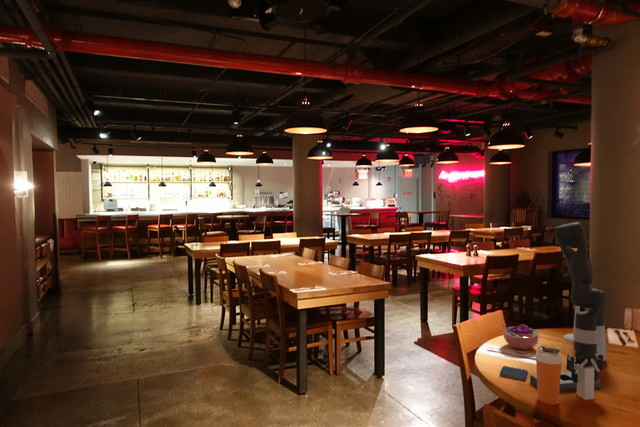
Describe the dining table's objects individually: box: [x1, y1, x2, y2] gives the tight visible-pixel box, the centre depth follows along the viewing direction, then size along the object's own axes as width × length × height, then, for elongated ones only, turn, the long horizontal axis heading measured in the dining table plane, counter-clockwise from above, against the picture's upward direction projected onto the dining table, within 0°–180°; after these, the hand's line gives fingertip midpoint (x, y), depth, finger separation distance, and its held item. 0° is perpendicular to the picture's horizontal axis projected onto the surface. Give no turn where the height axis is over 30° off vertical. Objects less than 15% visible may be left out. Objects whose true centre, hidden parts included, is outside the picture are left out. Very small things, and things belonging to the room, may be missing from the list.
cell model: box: [502, 323, 539, 350], centre depth 221 cm, size 17×20×11 cm
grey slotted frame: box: [529, 371, 601, 392], centre depth 177 cm, size 24×10×3 cm, turn 100°
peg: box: [576, 364, 595, 401], centre depth 166 cm, size 4×4×12 cm
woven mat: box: [499, 365, 529, 382], centre depth 188 cm, size 10×11×2 cm
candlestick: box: [563, 305, 581, 344], centre depth 232 cm, size 13×13×30 cm
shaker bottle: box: [535, 345, 563, 406], centre depth 163 cm, size 9×9×20 cm
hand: (584, 381), depth 166 cm, fingers open, 8 cm apart
